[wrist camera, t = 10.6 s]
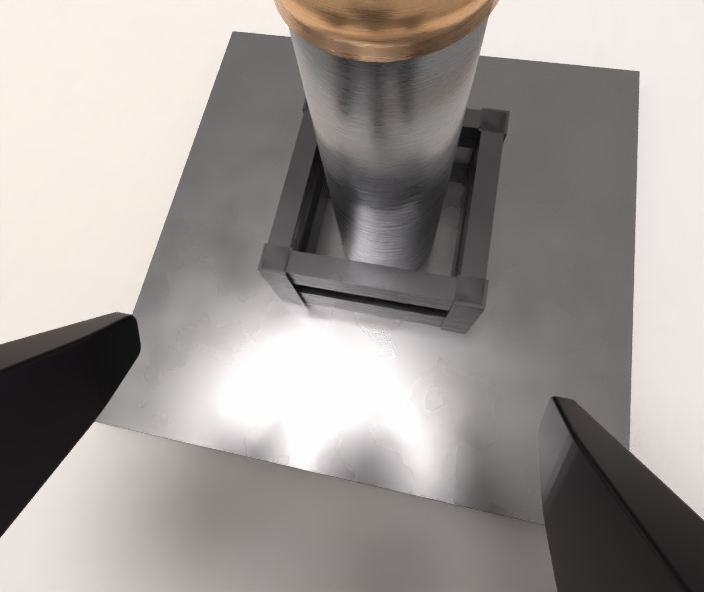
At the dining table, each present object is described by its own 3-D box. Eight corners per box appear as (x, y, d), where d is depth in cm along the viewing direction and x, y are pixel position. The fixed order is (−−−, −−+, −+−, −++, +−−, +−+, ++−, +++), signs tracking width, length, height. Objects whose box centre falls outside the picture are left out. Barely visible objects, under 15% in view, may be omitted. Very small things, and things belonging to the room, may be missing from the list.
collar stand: (615, 538, 16) (699, 577, 12) (106, 422, 18) (21, 418, 14) (630, 84, 21) (691, -4, 17) (237, 44, 24) (205, -42, 20)
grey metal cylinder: (371, 300, 18) (326, -55, 5) (319, 221, 20) (170, -234, 6) (458, 247, 19) (635, -216, 5) (402, 173, 20) (430, -356, 7)
